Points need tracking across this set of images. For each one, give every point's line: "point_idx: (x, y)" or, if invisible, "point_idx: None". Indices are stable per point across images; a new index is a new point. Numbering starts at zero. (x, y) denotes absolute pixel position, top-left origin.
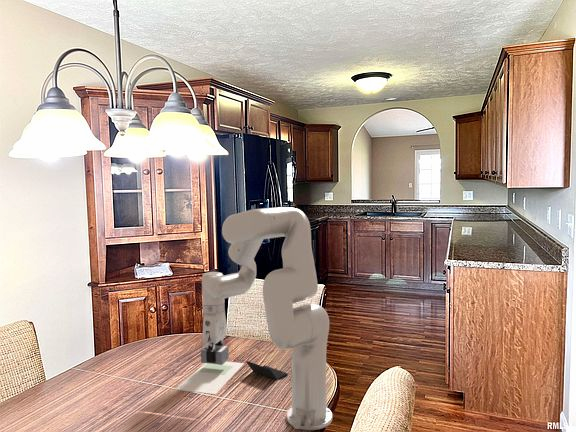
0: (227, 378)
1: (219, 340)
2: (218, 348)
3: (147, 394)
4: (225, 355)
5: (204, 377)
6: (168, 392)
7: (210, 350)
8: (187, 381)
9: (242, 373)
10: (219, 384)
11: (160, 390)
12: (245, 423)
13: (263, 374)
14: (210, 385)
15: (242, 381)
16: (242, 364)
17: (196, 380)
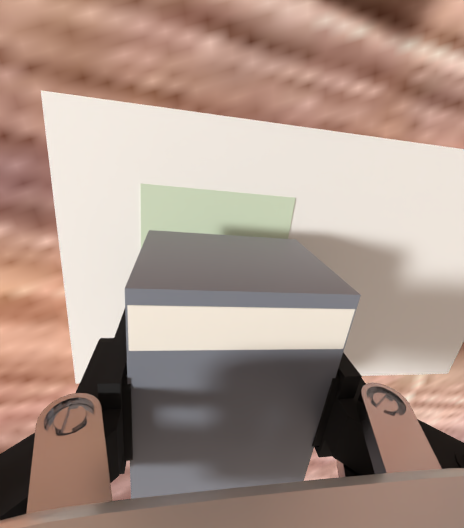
0: (354, 155)
1: (439, 497)
2: (236, 379)
3: (455, 435)
4: (233, 255)
5: None
6: (454, 383)
7: (426, 424)
8: (378, 361)
9: (239, 56)
10: (435, 182)
11: (431, 415)
12: None
13: None
14: (439, 233)
15: (385, 14)
16: (76, 100)
17: (369, 328)
